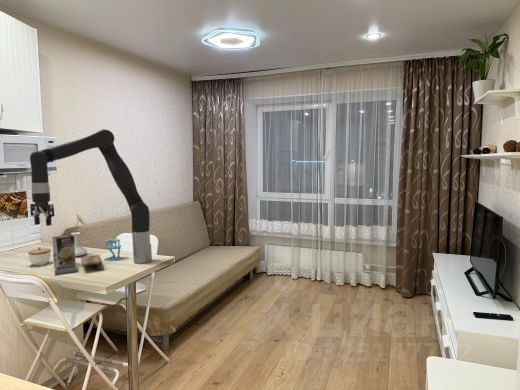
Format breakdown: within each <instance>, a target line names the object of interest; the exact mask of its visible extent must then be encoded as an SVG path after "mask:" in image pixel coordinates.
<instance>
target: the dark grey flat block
mask: <svg viewBox="0 0 520 390" xmlns="http://www.w3.org/2000/svg"><path fill="white" fill-rule="evenodd" d="M72 273H78V263H76V264H73V265H66V266H58V267H55V266H54V275H55V276H58V275H59V276H60V275H65V274H72Z"/></svg>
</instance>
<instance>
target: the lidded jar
mask: <svg viewBox="0 0 520 390" xmlns="http://www.w3.org/2000/svg"><path fill="white" fill-rule="evenodd" d="M27 253H28V259H29V262H30V263H31V264H32V265H34V266H36V265H38V266H43V265H46V264H48V262H49V261H50V260H51V255H52V254H51V253H52V252H51V248H50V247H43V248H42V247H38V248H36V249H35V248H34V249H31V250H28V251H27Z"/></svg>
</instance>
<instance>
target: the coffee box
mask: <svg viewBox="0 0 520 390" xmlns="http://www.w3.org/2000/svg"><path fill="white" fill-rule="evenodd" d="M51 239H52V253H53V254H52V255H53V256H52V257H53V258H52V259H53V267H54V268H55V267H58V266H66V265H73V264H77V263H76V262H77V261H76V256H75V243H74V236H73V235H72V234H66V235H57V236H53V237H52V238H51Z"/></svg>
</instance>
